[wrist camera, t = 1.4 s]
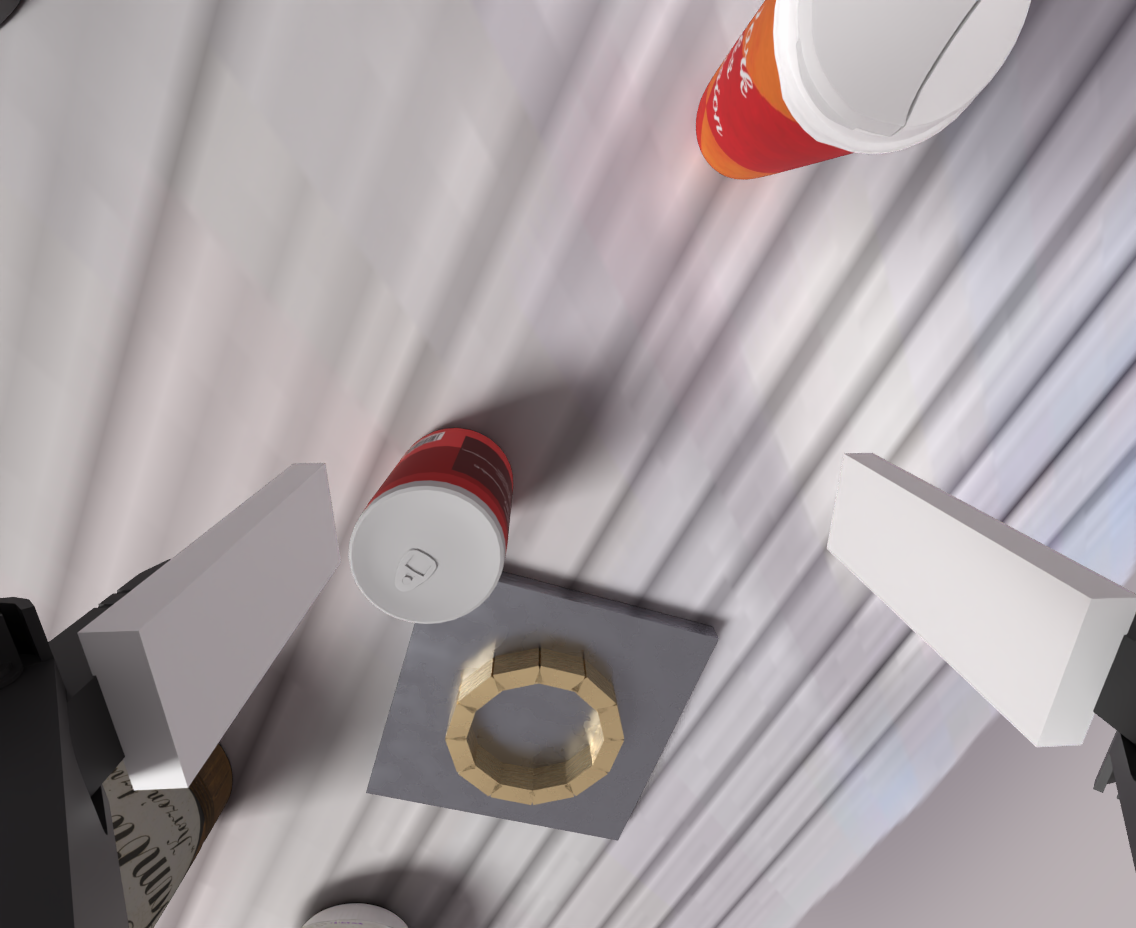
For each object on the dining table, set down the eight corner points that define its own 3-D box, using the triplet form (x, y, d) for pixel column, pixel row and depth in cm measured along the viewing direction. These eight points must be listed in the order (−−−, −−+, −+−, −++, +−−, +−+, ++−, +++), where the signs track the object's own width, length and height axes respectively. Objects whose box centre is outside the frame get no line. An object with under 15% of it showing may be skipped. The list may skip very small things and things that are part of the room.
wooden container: (273, 786, 45) (51, 1218, 25) (138, 858, 47) (-174, 1315, 26) (139, 664, 41) (-272, 1070, 20) (-4, 749, 43) (-517, 1201, 22)
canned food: (385, 510, 38) (328, 600, 27) (420, 406, 35) (373, 461, 25) (490, 545, 39) (473, 644, 29) (530, 447, 37) (528, 515, 26)
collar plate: (371, 776, 45) (358, 815, 42) (435, 553, 39) (426, 579, 36) (615, 824, 49) (621, 863, 46) (712, 626, 42) (727, 656, 39)
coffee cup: (761, -4, 29) (974, -266, 15) (845, 126, 31) (1099, 5, 17) (643, 119, 31) (735, -13, 16) (731, 234, 33) (878, 204, 19)
